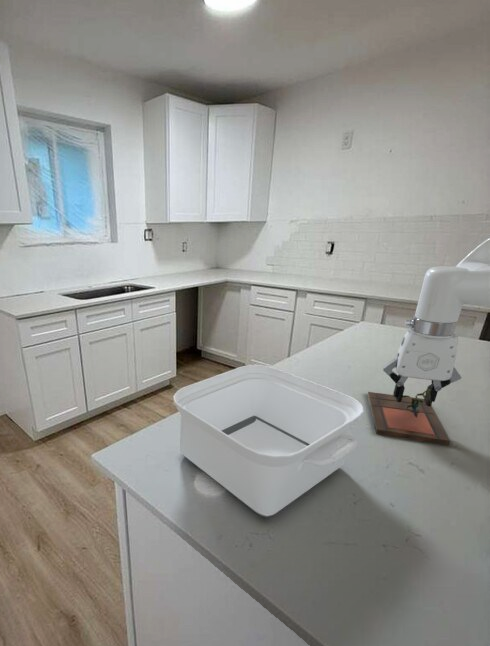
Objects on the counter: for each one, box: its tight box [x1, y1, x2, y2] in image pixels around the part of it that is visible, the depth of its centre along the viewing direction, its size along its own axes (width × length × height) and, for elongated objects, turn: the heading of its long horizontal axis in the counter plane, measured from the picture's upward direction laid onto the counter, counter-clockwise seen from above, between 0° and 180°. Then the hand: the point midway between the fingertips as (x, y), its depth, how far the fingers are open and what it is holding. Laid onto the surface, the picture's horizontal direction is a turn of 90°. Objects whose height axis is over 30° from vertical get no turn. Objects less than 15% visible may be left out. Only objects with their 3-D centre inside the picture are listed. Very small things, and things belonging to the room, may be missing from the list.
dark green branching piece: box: [403, 389, 433, 418], centre depth 83 cm, size 8×6×6 cm
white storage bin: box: [172, 364, 365, 518], centre depth 72 cm, size 34×29×15 cm
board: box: [366, 391, 451, 446], centre depth 89 cm, size 14×20×1 cm
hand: (412, 400), depth 84 cm, fingers closed on dark green branching piece, 5 cm apart
